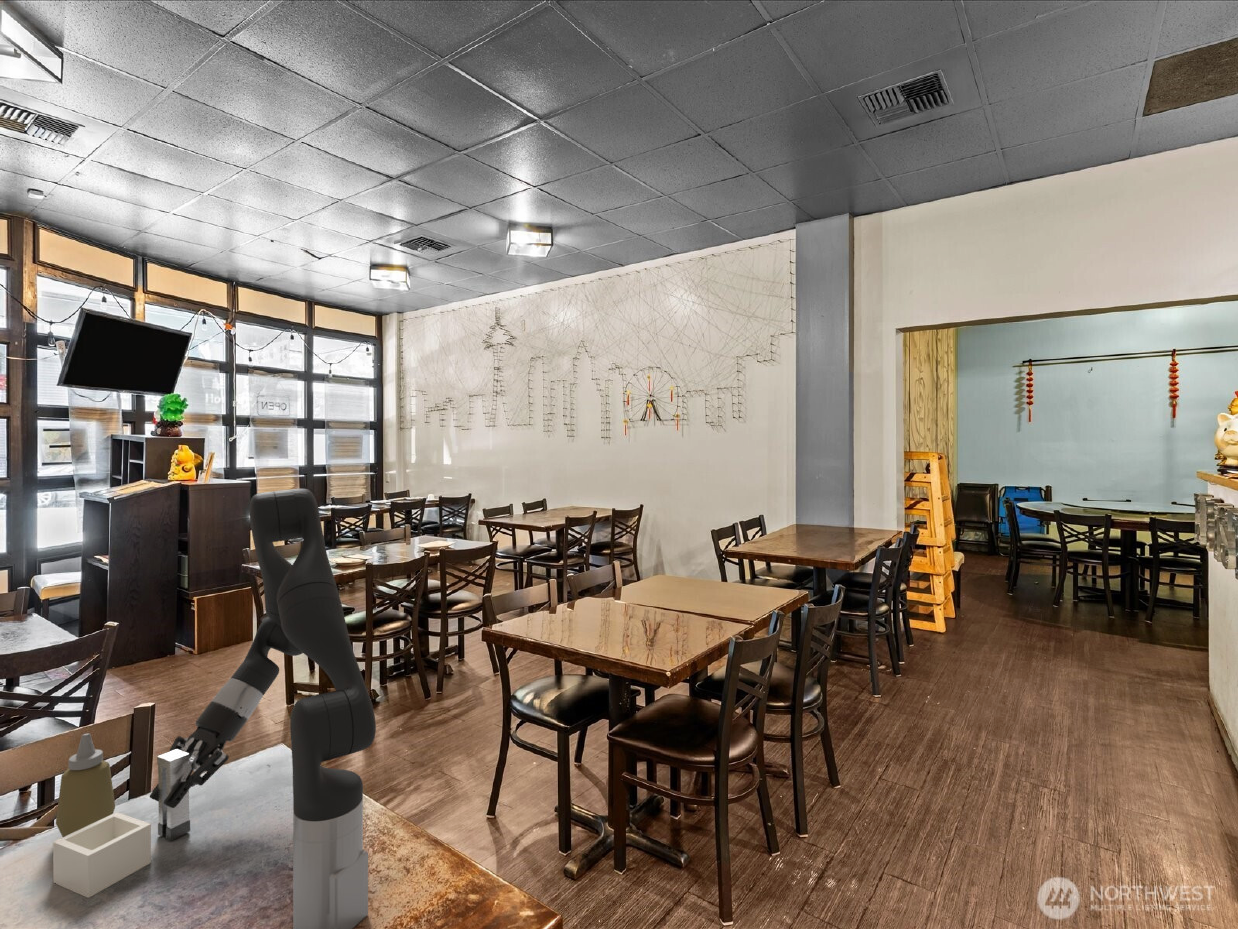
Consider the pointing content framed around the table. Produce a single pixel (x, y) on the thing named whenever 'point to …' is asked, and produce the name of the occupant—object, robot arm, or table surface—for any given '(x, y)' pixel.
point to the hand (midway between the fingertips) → (161, 802)
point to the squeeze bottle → (85, 789)
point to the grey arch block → (169, 775)
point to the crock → (101, 854)
